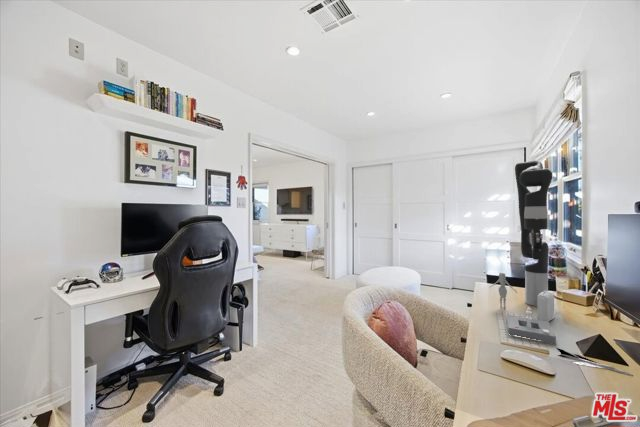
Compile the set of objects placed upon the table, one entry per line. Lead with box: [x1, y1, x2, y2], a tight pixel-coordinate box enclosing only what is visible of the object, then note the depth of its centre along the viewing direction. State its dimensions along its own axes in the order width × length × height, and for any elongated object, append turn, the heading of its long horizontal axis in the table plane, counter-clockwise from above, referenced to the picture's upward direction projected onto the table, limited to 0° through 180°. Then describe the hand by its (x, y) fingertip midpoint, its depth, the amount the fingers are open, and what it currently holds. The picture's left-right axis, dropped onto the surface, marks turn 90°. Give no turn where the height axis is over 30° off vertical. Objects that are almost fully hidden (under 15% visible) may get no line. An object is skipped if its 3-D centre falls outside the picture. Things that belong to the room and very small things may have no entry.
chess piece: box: [524, 306, 533, 328], centre depth 106 cm, size 5×5×10 cm
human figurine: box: [488, 272, 518, 310], centre depth 132 cm, size 12×4×18 cm, turn 43°
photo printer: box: [536, 290, 556, 322], centre depth 119 cm, size 10×4×12 cm, turn 123°
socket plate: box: [506, 314, 557, 346], centre depth 106 cm, size 16×14×4 cm
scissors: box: [556, 347, 634, 377], centre depth 85 cm, size 8×21×2 cm, turn 42°
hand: (536, 259), depth 108 cm, fingers closed
